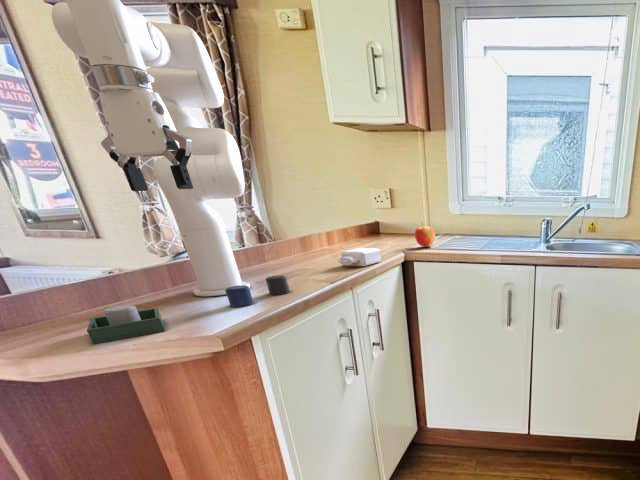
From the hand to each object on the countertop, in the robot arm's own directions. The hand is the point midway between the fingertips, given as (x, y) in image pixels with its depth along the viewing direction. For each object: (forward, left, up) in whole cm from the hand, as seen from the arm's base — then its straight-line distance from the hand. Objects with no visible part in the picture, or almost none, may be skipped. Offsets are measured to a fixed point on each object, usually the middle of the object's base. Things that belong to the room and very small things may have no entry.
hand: (162, 189), depth 81 cm
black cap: (-7, +17, -24) cm, 30 cm away
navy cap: (-1, +7, -24) cm, 25 cm away
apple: (-55, +85, -24) cm, 104 cm away
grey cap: (+6, -13, -24) cm, 28 cm away
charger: (-32, +46, -24) cm, 61 cm away
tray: (+6, -13, -24) cm, 28 cm away
